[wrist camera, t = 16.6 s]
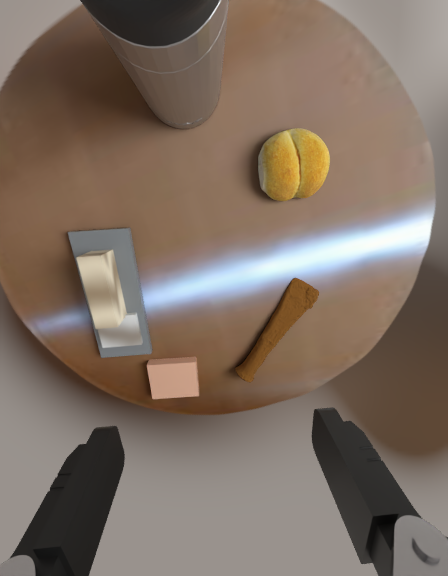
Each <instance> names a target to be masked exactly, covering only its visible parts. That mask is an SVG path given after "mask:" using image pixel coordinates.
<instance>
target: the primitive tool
mask: <svg viewBox="0 0 448 576" xmlns="http://www.w3.org/2000/svg"><path fill="white" fill-rule="evenodd" d="M318 295H319V291H318V290H316V289H314V288H313V287H312V286H310V285H309V284H307V283H305V282H304V281H302V280H300V279H297V278H294V279H293V280H292V281H291V283H290V284H289V286H288V287H287V289H286V291H285V293H284V295H283V297H282V299H281V301H280V303H279V305H278V307H277V309H276V311H275V312H274V314H273V315H272V316H271V319H270V321H269V323H268V324H267V326H266V328H265V329H264V331H263V333H262V334H261V336H260V338H259V339H258V341H257V343H256V345H255V346H254V348H253V349H252V350H251V353H250V354H249V355H248V356H247V358H246V360H245V361H244V362H243V363H242V364H241V365H239V366H237V367H236V368H235V370H236V373H237V374H238V376H239V377H240V378H241V379H243V380H244V381H247V382H252V381H253V379H254V374H255V372H256V371H257V369H258V368H259V367H260V366H261V364H262V363H263V362H264V360H265V358H266V356H267V355H268V354H269V352H270V351H271V350H272V349H273V348H274V347H275V346H276V344H277V343H278V342H279V340H280V339H281V338H282V337H283V336H284V335H285V333H286V332H287V331H288V330H289V328H290V327H291V326H292V325H293V324H294V323H295V322H296V321H297V320H298V319H299V318H300V317H301V316H302V315H303V313H304V312H306V310H307V309H309V308H312V306H313V304H314V303H315V302H316V300H317V298H318Z"/></svg>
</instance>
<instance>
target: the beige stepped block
mask: <svg viewBox="0 0 448 576" xmlns="http://www.w3.org/2000/svg"><path fill="white" fill-rule="evenodd" d="M76 259H77V262H78V266H79V270H80V273H81V277H82V281H83V284H84V288H85V292H86V295H87V299H88V303H89V306H90V310H91V314H92V317H93V321H94V325H95V328H96V329H98V332H99V336H100V340H101V344H102V347H103V348H108V347H120V346H133V345H142V342H143V341H142V336H141V331H140V326H139V321H138V316H137V313H127V312H126V307H125V303H124V298H123V293H122V289H121V284H120V280H119V275H118V271H117V266H116V261H115V257H114V252H113V250H99V251H90V252H88V253H85V254H83V255H81V256H78V257H76Z"/></svg>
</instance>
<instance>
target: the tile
mask: <svg viewBox="0 0 448 576" xmlns="http://www.w3.org/2000/svg"><path fill="white" fill-rule="evenodd" d="M147 369H148V375H149V381H150V387H151V392H152V398H153V399H162V398H176V397H190V396H199V381H198V370H197V359H196V357H184V358H169V359H153V360H149V361H148V364H147Z"/></svg>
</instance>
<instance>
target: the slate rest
mask: <svg viewBox="0 0 448 576" xmlns="http://www.w3.org/2000/svg"><path fill="white" fill-rule="evenodd" d="M68 235H69V239H70V243H71V246H72V250H73V254H74V258H75V261H76V265H77V269H78V273H79V276H80V280H81V284H82V287H83V291H84V295H85V299H86V302H87V306H88V310H89V313H90V317H91V321H92V325H93V328H94V332H95V336H96V340H97V343H98V347H99V351H100V354H101V358H104V357H116V356H129V355H141V354H151V353H152V345H151V340H150V334H149V329H148V323H147V318H146V312H145V307H144V301H143V296H142V290H141V285H140V279H139V274H138V269H137V263H136V258H135V252H134V247H133V241H132V236H131V230H130V228H117V229H101V230H85V231H71V232H68ZM99 250H113V252H114V257H115V261H116V266H117V271H118V275H119V280H120V284H121V289H122V293H123V298H124V303H125V307H126V312H127V313H137V316H138V321H139V326H140V331H141V336H142V341H143V342H142V345H133V346H120V347H108V348H103V347H102V344H101V340H100V336H99V332H98V329H96V328H95V325H94V321H93V317H92V314H91V310H90V306H89V303H88V299H87V295H86V292H85V288H84V284H83V281H82V277H81V273H80V270H79V266H78V262H77V259H76V257H78V256H81V255H83V254H85V253H88V252H90V251H99Z"/></svg>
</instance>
